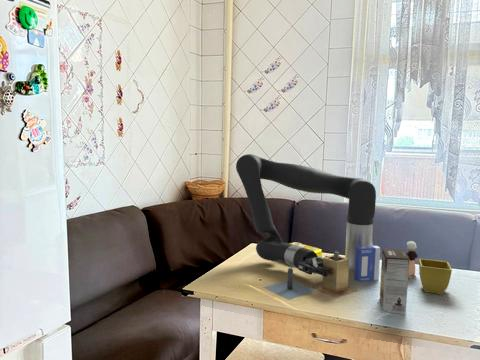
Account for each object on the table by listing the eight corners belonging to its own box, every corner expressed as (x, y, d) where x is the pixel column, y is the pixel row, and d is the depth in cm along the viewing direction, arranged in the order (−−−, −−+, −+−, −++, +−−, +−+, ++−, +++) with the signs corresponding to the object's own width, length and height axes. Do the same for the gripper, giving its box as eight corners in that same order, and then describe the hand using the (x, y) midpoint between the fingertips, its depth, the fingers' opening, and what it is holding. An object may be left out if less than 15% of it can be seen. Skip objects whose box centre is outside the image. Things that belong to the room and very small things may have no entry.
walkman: (358, 282, 140) (359, 247, 138) (354, 279, 142) (355, 245, 141) (379, 281, 141) (381, 246, 140) (375, 278, 144) (377, 244, 143)
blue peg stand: (290, 280, 140) (291, 260, 139) (317, 292, 131) (317, 269, 130) (263, 288, 133) (263, 266, 132) (288, 300, 124) (289, 277, 123)
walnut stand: (333, 282, 139) (334, 246, 138) (357, 291, 131) (359, 253, 130) (312, 288, 134) (313, 250, 132) (336, 298, 126) (338, 258, 124)
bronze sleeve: (334, 284, 136) (335, 254, 135) (347, 289, 132) (349, 259, 131) (322, 288, 133) (323, 257, 132) (335, 293, 129) (337, 262, 127)
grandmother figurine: (408, 272, 151) (410, 238, 149) (419, 275, 148) (421, 240, 146) (399, 277, 145) (401, 242, 144) (410, 280, 142) (412, 244, 141)
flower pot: (446, 288, 136) (448, 261, 135) (450, 298, 128) (452, 269, 127) (417, 284, 139) (418, 258, 138) (419, 293, 131) (420, 266, 130)
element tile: (270, 258, 167) (270, 246, 166) (294, 251, 177) (295, 240, 176) (298, 267, 156) (299, 255, 155) (323, 260, 166) (324, 248, 165)
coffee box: (378, 299, 126) (381, 247, 124) (401, 301, 124) (404, 249, 122) (382, 312, 117) (386, 256, 115) (407, 314, 115) (410, 258, 114)
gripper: (285, 250, 140) (321, 263, 127) (315, 244, 148) (352, 255, 135) (284, 272, 141) (320, 287, 128) (314, 265, 149) (350, 278, 136)
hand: (336, 271), depth 131 cm, fingers open, 8 cm apart
